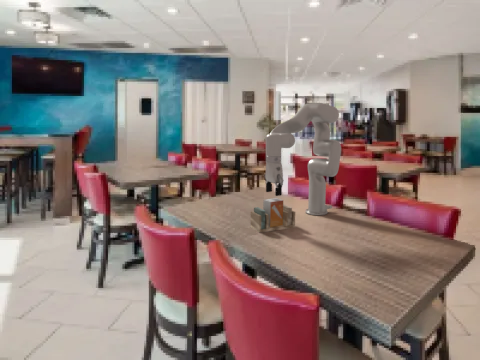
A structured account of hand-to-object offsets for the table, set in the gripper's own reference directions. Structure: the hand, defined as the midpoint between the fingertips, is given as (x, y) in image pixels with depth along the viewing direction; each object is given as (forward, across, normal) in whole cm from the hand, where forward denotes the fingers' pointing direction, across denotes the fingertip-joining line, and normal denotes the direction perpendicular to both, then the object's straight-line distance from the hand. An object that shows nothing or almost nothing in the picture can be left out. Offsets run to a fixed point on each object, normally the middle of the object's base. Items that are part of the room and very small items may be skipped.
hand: (273, 193), depth 189 cm
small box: (+16, 0, +1) cm, 16 cm away
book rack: (+17, 0, +1) cm, 17 cm away
